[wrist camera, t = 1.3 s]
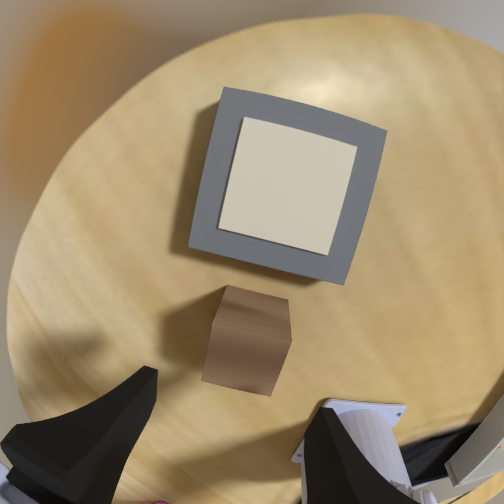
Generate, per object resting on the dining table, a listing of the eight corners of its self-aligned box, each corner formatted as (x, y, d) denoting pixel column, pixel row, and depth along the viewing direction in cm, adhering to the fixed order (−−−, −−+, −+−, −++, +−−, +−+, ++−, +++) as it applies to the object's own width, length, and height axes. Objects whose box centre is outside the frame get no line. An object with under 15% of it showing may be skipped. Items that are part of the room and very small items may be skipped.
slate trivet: (336, 273, 18) (344, 286, 16) (196, 238, 18) (186, 247, 16) (375, 134, 15) (388, 130, 13) (229, 95, 16) (223, 85, 13)
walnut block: (271, 348, 20) (270, 396, 15) (216, 335, 20) (201, 380, 15) (288, 299, 19) (291, 341, 14) (227, 284, 19) (212, 322, 14)
